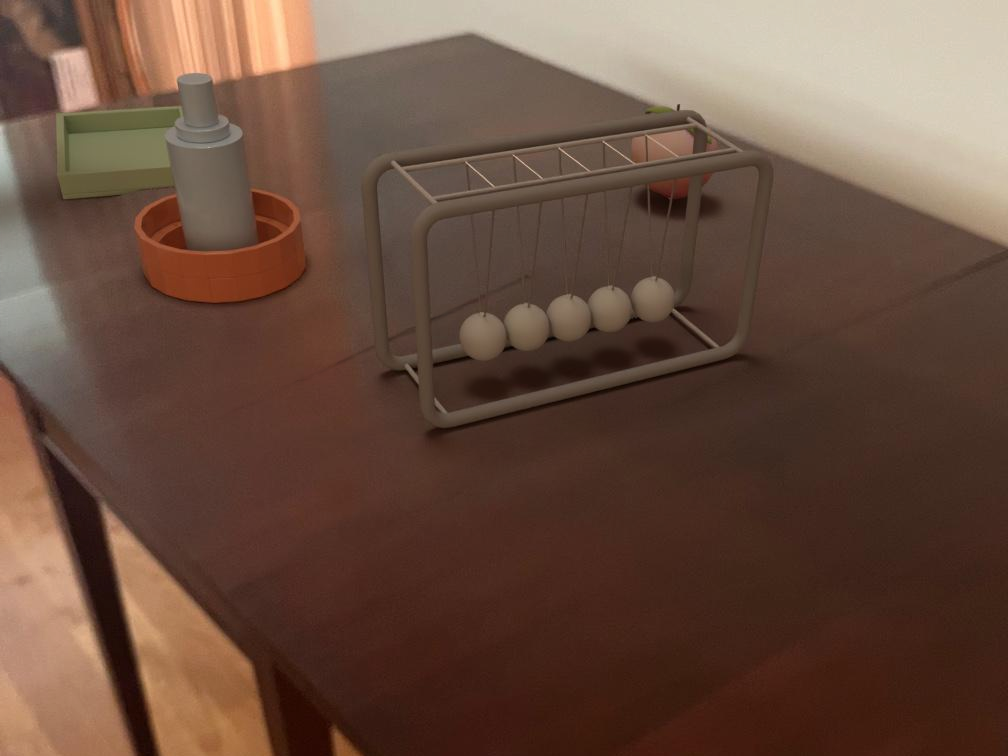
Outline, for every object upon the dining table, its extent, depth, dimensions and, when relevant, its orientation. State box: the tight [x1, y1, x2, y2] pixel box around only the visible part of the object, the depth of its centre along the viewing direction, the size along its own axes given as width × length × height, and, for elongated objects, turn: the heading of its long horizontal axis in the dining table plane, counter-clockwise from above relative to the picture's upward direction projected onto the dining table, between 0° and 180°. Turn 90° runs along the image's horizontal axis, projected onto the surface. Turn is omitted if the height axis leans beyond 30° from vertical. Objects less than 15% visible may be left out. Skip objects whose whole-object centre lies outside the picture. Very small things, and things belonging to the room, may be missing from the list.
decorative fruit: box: [630, 103, 720, 200], centre depth 121 cm, size 9×8×10 cm
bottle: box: [165, 72, 259, 252], centre depth 101 cm, size 6×6×16 cm
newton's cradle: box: [360, 109, 774, 429], centre depth 92 cm, size 30×10×18 cm, turn 119°
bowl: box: [133, 188, 307, 304], centre depth 106 cm, size 14×14×5 cm
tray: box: [55, 105, 183, 200], centre depth 124 cm, size 18×14×2 cm
